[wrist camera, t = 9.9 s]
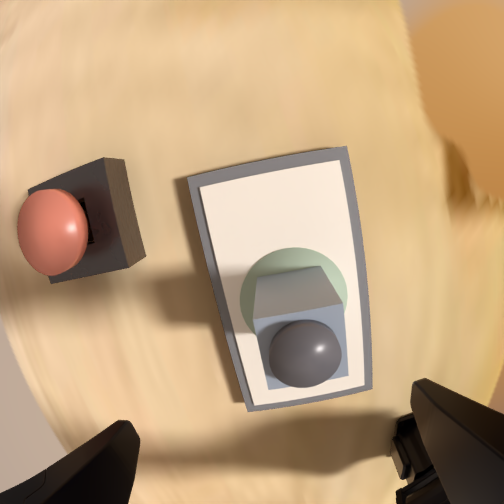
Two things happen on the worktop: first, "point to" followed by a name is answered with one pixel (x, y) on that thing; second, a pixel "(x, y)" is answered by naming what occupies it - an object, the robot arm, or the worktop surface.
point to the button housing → (102, 217)
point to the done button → (52, 231)
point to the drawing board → (284, 257)
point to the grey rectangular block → (300, 329)
